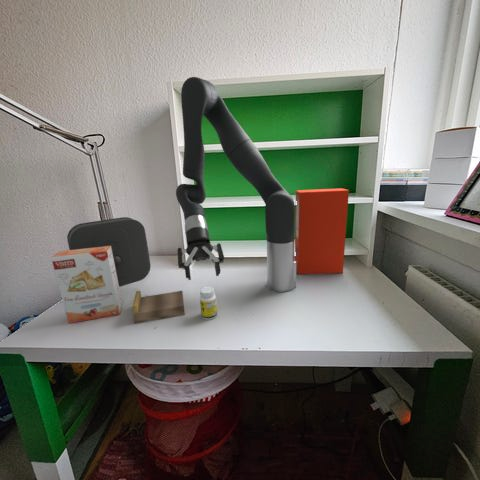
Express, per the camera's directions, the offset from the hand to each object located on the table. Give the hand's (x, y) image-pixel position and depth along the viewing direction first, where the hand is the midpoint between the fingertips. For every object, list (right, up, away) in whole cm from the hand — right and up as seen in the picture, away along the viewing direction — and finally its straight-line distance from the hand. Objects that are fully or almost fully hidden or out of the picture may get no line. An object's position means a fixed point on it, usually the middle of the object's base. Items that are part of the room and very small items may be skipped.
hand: (203, 277), depth 75 cm
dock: (-14, -11, +2) cm, 17 cm away
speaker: (-37, -6, +22) cm, 43 cm away
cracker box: (-33, -12, +1) cm, 35 cm away
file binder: (+43, -1, +26) cm, 50 cm away
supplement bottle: (+2, -11, -2) cm, 12 cm away
